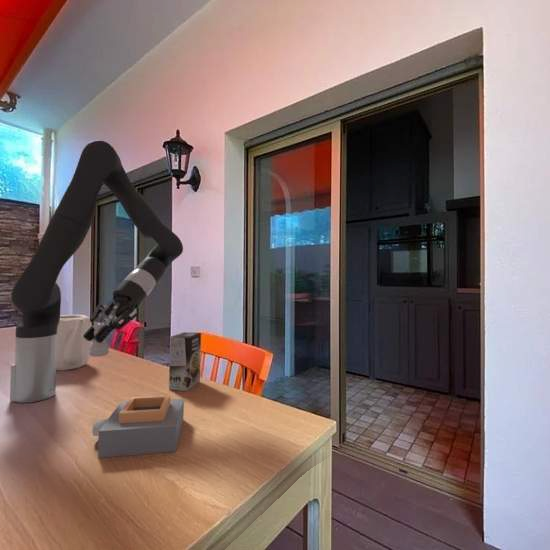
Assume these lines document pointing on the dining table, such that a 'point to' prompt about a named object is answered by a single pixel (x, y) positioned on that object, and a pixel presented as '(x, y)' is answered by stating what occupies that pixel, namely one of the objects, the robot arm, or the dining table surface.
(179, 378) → the coffee box
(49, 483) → the dining table surface
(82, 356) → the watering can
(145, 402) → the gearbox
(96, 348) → the rook chess piece
